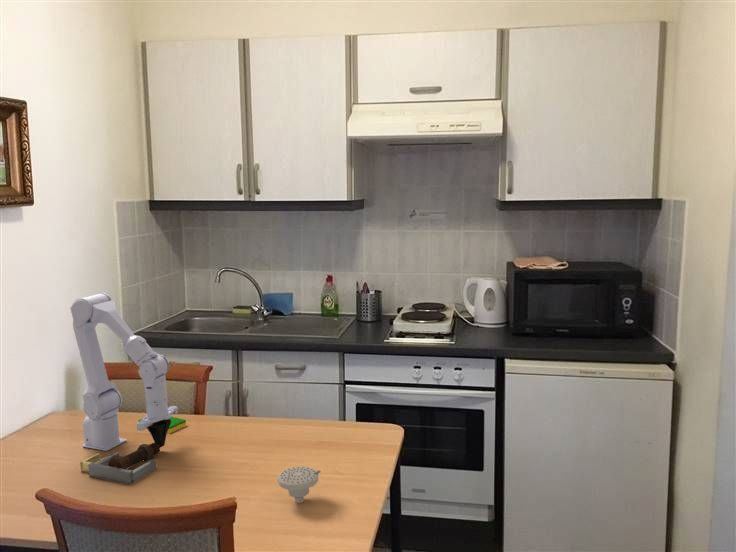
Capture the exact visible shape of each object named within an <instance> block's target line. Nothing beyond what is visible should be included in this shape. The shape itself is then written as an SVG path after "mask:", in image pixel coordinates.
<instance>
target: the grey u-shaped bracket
mask: <svg viewBox="0 0 736 552" xmlns="http://www.w3.org/2000/svg"><path fill="white" fill-rule="evenodd" d="M114 455H118V456H121V455H120V453H119V452H115V453H112V454H110V457H108V458H106V459H103V458H102V459H103V461H101V462H99V463H97V464H96V463H90V464H88V468H89V473H88V477H90V476H91V478H95V477H96V478H97V479H100V478H101V479H102V480H105V481H110V482H114V483H115V482H116V483H121V484H125V485H130V486H131V485H132V484H134V483H136V482H137V481H139V480H141V479H142V478H144V477H146V476H148V475H149V474H150V472H151V473H152V472H154V471H155V469H156V470H157V459H154V458H152V459H151V460H150V461H148V462H145V463H143V464H142V465H140V466H138V467H136V468H135V469H133V470H132V469H128V468H127V469H121V468H116V467H111V466H108V462H109V460H110V458H111V457H112V456H114ZM153 470H154V471H153ZM145 475H146V476H145ZM140 478H141V479H140Z"/></svg>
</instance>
